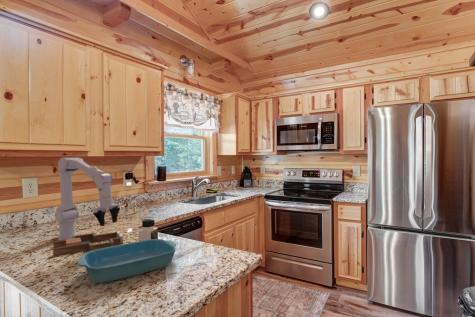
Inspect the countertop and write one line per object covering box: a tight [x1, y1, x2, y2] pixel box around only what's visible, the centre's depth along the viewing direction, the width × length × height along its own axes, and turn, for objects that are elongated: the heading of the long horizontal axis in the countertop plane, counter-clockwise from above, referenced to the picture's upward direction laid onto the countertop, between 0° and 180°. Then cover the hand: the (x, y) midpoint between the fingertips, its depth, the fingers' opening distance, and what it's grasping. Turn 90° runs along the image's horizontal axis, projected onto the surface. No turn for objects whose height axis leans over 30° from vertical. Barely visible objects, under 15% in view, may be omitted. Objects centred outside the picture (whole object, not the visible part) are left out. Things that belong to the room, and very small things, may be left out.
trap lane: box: [52, 230, 124, 256], centre depth 129 cm, size 22×29×4 cm
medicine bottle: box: [137, 218, 159, 242], centre depth 133 cm, size 7×7×12 cm
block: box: [66, 238, 81, 246], centre depth 125 cm, size 6×6×4 cm
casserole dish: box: [76, 238, 177, 284], centre depth 103 cm, size 37×22×7 cm, turn 128°
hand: (108, 224), depth 130 cm, fingers open, 7 cm apart
